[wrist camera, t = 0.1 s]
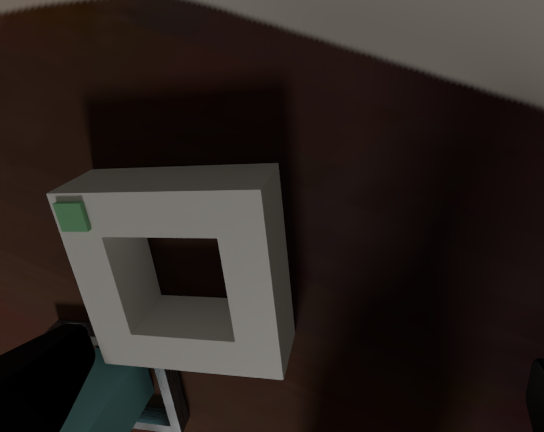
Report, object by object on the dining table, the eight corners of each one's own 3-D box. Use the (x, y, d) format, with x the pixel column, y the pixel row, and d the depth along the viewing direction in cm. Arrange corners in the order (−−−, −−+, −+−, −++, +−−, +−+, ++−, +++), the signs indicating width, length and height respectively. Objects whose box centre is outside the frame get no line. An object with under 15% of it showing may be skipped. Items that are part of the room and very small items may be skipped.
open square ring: (189, 417, 33) (181, 434, 31) (91, 405, 35) (80, 421, 34) (166, 327, 29) (156, 341, 28) (58, 319, 31) (44, 333, 30)
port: (295, 332, 27) (282, 384, 23) (137, 322, 29) (102, 366, 26) (278, 163, 22) (258, 191, 18) (92, 169, 25) (42, 195, 21)
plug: (154, 391, 32) (83, 511, 24) (109, 386, 33) (27, 500, 25) (142, 351, 31) (62, 466, 23) (96, 347, 32) (3, 457, 24)
